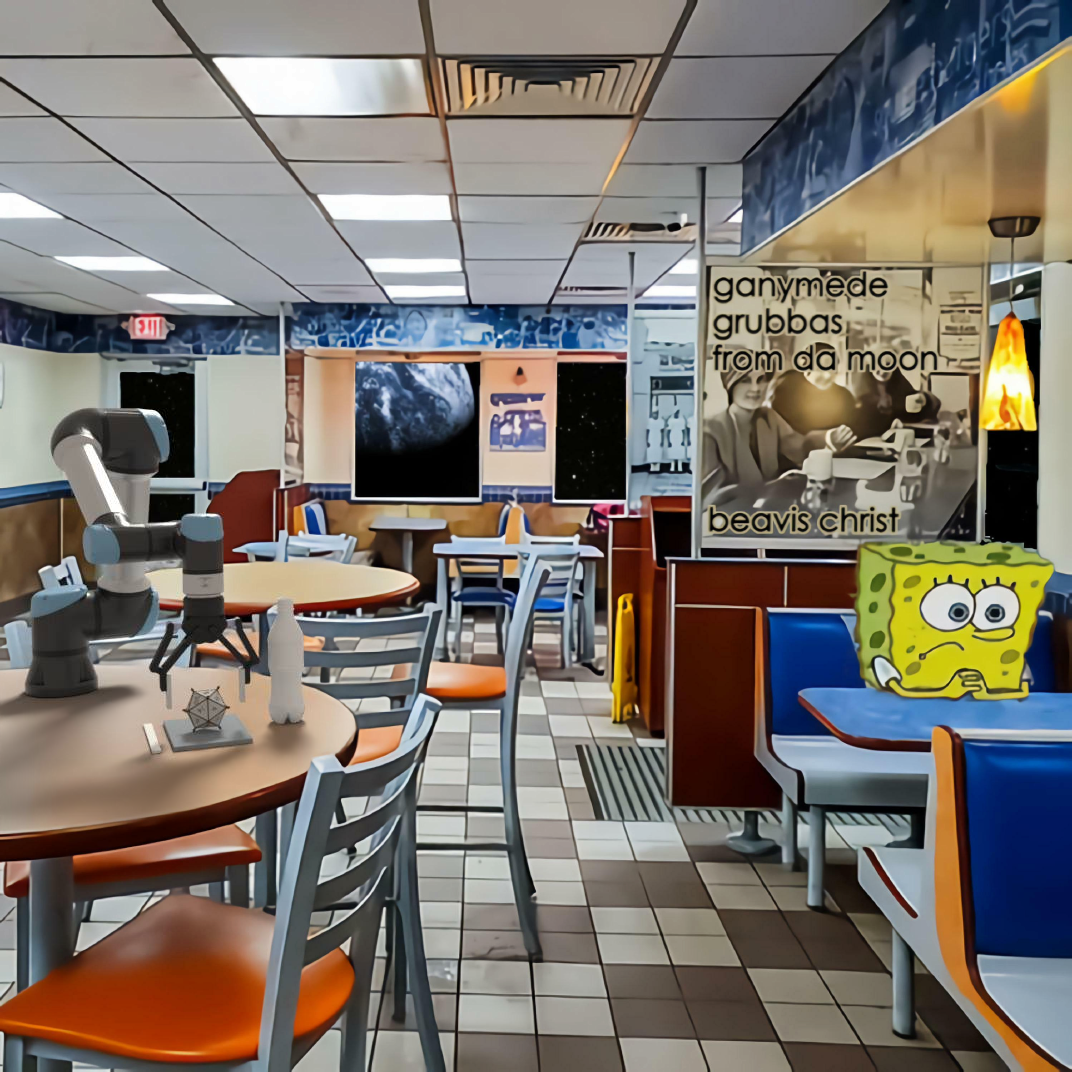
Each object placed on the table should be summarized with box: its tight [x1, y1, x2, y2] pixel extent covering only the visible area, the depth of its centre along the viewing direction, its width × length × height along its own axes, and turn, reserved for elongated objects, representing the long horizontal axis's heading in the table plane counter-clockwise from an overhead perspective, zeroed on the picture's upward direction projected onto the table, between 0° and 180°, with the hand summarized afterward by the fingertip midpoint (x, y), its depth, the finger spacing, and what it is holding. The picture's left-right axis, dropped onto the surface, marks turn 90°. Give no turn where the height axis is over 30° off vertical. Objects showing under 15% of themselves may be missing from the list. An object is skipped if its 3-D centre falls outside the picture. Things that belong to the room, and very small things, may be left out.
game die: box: [181, 685, 231, 732], centre depth 202 cm, size 9×8×10 cm
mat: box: [163, 713, 254, 752], centre depth 203 cm, size 20×14×1 cm
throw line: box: [143, 722, 162, 755], centre depth 199 cm, size 20×2×1 cm, turn 25°
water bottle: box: [266, 596, 306, 725], centre depth 212 cm, size 7×7×25 cm
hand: (206, 704), depth 203 cm, fingers open, 13 cm apart
